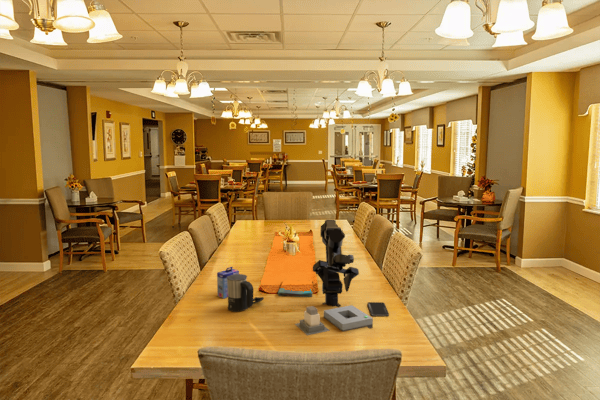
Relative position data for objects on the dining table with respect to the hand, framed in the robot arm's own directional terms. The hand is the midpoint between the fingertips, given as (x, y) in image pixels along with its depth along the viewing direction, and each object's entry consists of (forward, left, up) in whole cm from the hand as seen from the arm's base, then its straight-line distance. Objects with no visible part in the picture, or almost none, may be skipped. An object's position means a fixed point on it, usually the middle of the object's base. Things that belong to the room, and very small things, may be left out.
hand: (337, 289), depth 180 cm
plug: (-4, -9, -16) cm, 19 cm away
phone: (-10, +27, -17) cm, 34 cm away
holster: (-4, -9, -17) cm, 20 cm away
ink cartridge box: (-58, -28, -17) cm, 67 cm away
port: (-3, +7, -17) cm, 18 cm away
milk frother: (-40, -25, -17) cm, 51 cm away
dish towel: (-52, +6, -18) cm, 56 cm away
